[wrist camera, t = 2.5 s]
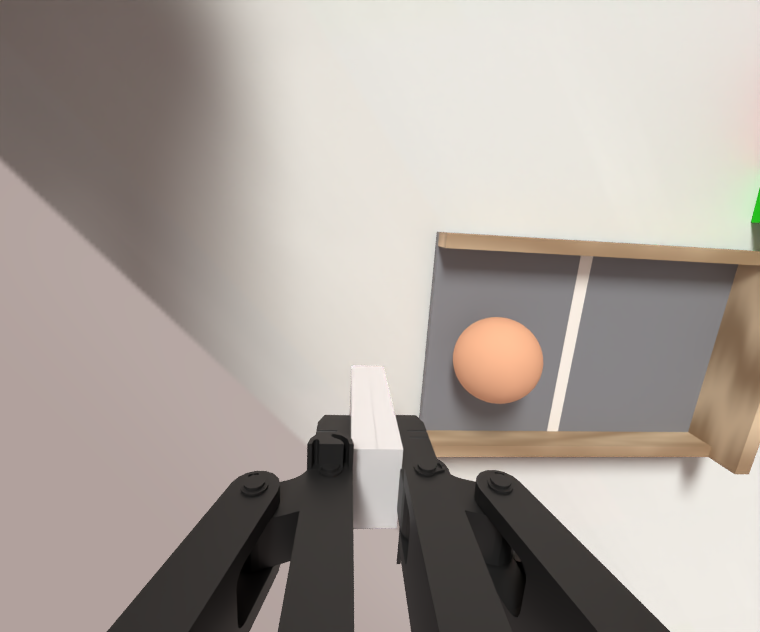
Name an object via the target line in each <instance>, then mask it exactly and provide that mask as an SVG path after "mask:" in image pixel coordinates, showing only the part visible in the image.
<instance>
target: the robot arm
mask: <svg viewBox="0 0 760 632" xmlns="http://www.w3.org/2000/svg"><path fill="white" fill-rule="evenodd" d="M397 519H398V520H399V526H400V530H399V542H398V543H399V544H398V554H397V564H400V563H401V564H402V571H403V577H404V584H405V591H406V598H407V605H408V612H409V619H410V626H411V632H670V631H669V630H668V629H667V628H666V627H665V626H664V625H663V624H662V623H661V622H660V621H659V620H658V619H657V618H656V617H655V616H654V615H653V614H652V613H651V612H650V611H649V610H648V609H647V608H646V607H645V606H644V605H643V604H642V603H641V602H640V601H639V600H638V599H637V598H636V597H635V596H634V595H633V594H632V593H631V592H630V591H629V590H628V589H627V588H626V587H625V586H624V585H623V584H622V583H621V582H620V581H619V580H618V579H617V578H616V577H615V576H614V575H613V574H612V573H611V572H610V571H609V570H608V569H607V568H606V567H605V566H604V565H603V564H602V563H601V562H600V561H599V560H598V559H597V558H596V557H595V556H594V555H593V554H592V553H591V552H590V551H589V550H588V549H587V548H586V547H585V546H584V545H583V544H582V543H581V542H580V541H579V540H578V539H577V538H576V537H575V536H574V535H573V534H572V533H571V532H570V531H569V530H568V529H567V528H566V527H565V526H564V525H563V524H562V523H561V522H560V521H559V520H558V519H557V518H556V517H555V516H554V515H553V514H552V513H551V512H550V511H549V510H548V509H547V508H546V507H545V506H544V505H543V504H542V503H541V502H540V501H539V500H538V499H537V498H536V497H535V496H534V495H533V494H531V493H530V492H529V491H528V490H527V489H526V488H525V487H524V486H523V485H522V484H521V483H520V482H519V481H518V480H517V479H516V478H514V477H513V476H511V475H509V474H507V473H504V472H501V471H496V470H486V471H484V472H481V473H480V474H479V475H478V476H477V478H476V482H474V481H469V480H465V479H461V478H458V477H455V476H453V475H451V474H450V472H449V470H448V468H447V467H446V465H445V464H444V463H443V462H441V461H440V460H438V459H437V457H436V455H435V452H434V449H433V447H432V444H431V441H430V438H429V436H428V433H427V430H426V428H425V425H424V422H423V421H421V420H420V419H419V418H418V417H417V416H416V415H395V412H394V407H393V403H392V399H391V394H390V390H389V386H388V381H387V377H386V373H385V368H384V366H364V365H352V368H351V392H350V415H324V416H323V417H322V419H321V420H320V421H319V422H318V425H317V432H316V435H315V436H314V437H312V438H311V439H310V440H309V442H308V446H307V471H306V472H305V473H303V474H302V475H300V476H298V477H296V478H294V479H291V480H287V481H283V482H279V478H278V477H276V475H274V474H273V473H269V472H267V471H254V472H250V473H246V474H244V475H242V476H240V477H238V478H237V479H236V480H235V481H233V482H232V483H231V484H230V485H229V487H228V488H227V489H226V490H225V492H224V493H223V494H222V495H221V496H220V497H219V499H218V500H217V501H216V502H215V503H214V505H213V506H212V507H211V508H210V509H209V511H208V512H207V513H206V514H205V515H204V516H203V518H202V519H201V520H200V521H199V523H198V524H197V525H196V526H195V527H194V528H193V530H192V531H191V532H190V533H189V535H188V536H187V537H186V538H185V539H184V540H183V542H182V543H181V544H180V545H179V546H178V548H177V549H176V550H175V551H174V552H173V553H172V555H171V556H170V557H169V558H168V560H167V561H166V562H165V563H164V564H163V566H162V567H161V568H160V569H159V570H158V572H157V573H156V574H155V575H154V576H153V577H152V579H151V580H150V581H149V582H148V583H147V585H146V586H145V587H144V588H143V589H142V590H141V592H140V593H139V594H138V595H137V596H136V598H135V599H134V600H133V601H132V602H131V604H130V605H129V606H128V607H127V608H126V610H125V611H124V612H123V613H122V614H121V616H120V617H119V618H118V619H117V620H116V622H115V623H114V624H113V625H112V626H111V628H110V629H109V630H108V631H107V632H249V631H250V629H251V627H252V625H253V623H254V621H255V619H256V617H257V615H258V613H259V611H260V609H261V606H262V604H263V602H264V600H265V598H266V596H267V594H268V592H269V589H270V588H271V586H272V583H273V581H274V579H275V577H276V575H277V573H278V571H279V567H280V564H282V563H285V562H288V561H290V567H289V573H288V578H287V584H286V589H285V595H284V600H283V606H282V612H281V617H280V623H279V628H278V632H354V574H353V573H354V572H353V571H354V566H353V565H354V564H353V563H354V562H353V529H366V528H367V529H368V528H369V529H371V528H372V529H373V528H397Z"/></svg>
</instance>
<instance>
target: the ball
mask: <svg viewBox="0 0 760 632" xmlns="http://www.w3.org/2000/svg"><path fill="white" fill-rule="evenodd" d="M453 366H454V370H455V373H456V376H457V378H458V380H459V382H460V383H461V385H462V386H463V387H464V388H465V389H466V390H467V391H468V392H469V393H470V394H472V395H473V396H474V397H476V398H478V399H480V400H483V401H485V402H489V403H495V404H505V403H511V402H514V401H517V400H519V399H521V398H523V397H525V396H526V395H527V394H529V393H530V392H531V391H532V390H533V389H534V388H535V386H536V385H537V383H538V381H539V379H540V377H541V374H542V370H543V354H542V350H541V347H540V345H539V342H538V340H537V339H536V337H535V336H534V335H533V333H532V332H531V331H530V330H529V329H527V328H526V327H525V326H524V325H522V324H520V323H519V322H516V321H514V320H512V319H508V318H503V317H490V318H485V319H481V320H479V321H477V322H475V323H473V324H471V325H470V326H469V327H467V328H466V329H465V330H464V331H463V332H462V334H461V335H460V336H459V338H458V340H457V342H456V344H455V347H454V352H453Z"/></svg>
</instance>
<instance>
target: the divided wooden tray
mask: <svg viewBox="0 0 760 632" xmlns="http://www.w3.org/2000/svg"><path fill="white" fill-rule="evenodd" d="M438 246H440V247H444V248H454V249H472V250H490V251H508V252H526V253H544V254H562V255H580V256H598V257H616V258H634V259H652V260H670V261H688V262H706V263H724V264H738V268H737V271H736V274H735V278H734V281H733V284H732V288H731V291H730V294H729V298H728V301H727V304H726V308H725V311H724V314H723V317H722V321H721V324H720V327H719V331H718V334H717V337H716V341H715V344H714V347H713V351H712V354H711V357H710V361H709V364H708V367H707V371H706V374H705V377H704V381H703V384H702V387H701V391H700V394H699V397H698V401H697V404H696V407H695V411H694V414H693V417H692V421H691V424H690V427H689V431H688V432H601V431H452V430H427V433H428V436H429V438H430V441H431V444H432V447H433V449H434V452H435V455H436V457H709V458H711V459H712V460H714V461H715V462H717V463H718V464H720V465H722V466H723V467H725V468H726V469H728V470H729V471H731V472H732V473H734V474H749V472H750V469H751V467H752V464H753V461H754V458H755V455H756V453H757V450H758V447H759V444H760V251H745V250H728V249H712V248H695V247H678V246H661V245H645V244H628V243H611V242H594V241H578V240H561V239H544V238H527V237H511V236H494V235H477V234H460V233H444V232H439V241H438Z"/></svg>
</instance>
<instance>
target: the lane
mask: <svg viewBox="0 0 760 632" xmlns="http://www.w3.org/2000/svg"><path fill="white" fill-rule="evenodd" d="M444 233H446V232H444ZM460 234H463V233H460ZM477 235H479V234H477ZM494 236H496V235H494ZM511 237H513V236H511ZM527 238H530V237H527ZM544 239H546V238H544ZM561 240H563V239H561ZM438 241H439V232H437V237H436V247H435V258H434V268H433V279H432V289H431V300H430V310H429V321H428V331H427V342H426V352H425V363H424V373H423V384H422V394H421V405H420V415H419V419H420V420H421V421H423V422H424V425H425V428H426V430H452V431H601V432H688V431H689V427H690V424H691V421H692V417H693V414H694V411H695V407H696V404H697V401H698V397H699V394H700V391H701V387H702V384H703V381H704V377H705V374H706V371H707V367H708V364H709V361H710V357H711V354H712V351H713V347H714V344H715V341H716V337H717V334H718V331H719V327H720V324H721V321H722V317H723V314H724V311H725V308H726V304H727V301H728V298H729V294H730V291H731V288H732V284H733V281H734V278H735V274H736V271H737V268H738V264H724V263H706V262H688V261H670V260H652V259H634V258H616V257H598V256H580V255H562V254H544V253H526V252H508V251H490V250H472V249H454V248H444V247H440V246H438ZM578 241H580V240H578ZM594 242H597V241H594ZM611 243H613V242H611ZM628 244H630V243H628ZM645 245H647V244H645ZM661 246H664V245H661ZM678 247H680V246H678ZM695 248H697V247H695ZM712 249H714V248H712ZM728 250H731V249H728ZM745 251H747V250H745ZM490 317H503V318H508V319H512V320H514V321H516V322H519V323H520V324H522V325H524V326H525V327H526V328H527V329H529V330H530V331H531V332H532V333H533V335H534V336H535V337H536V339H537V340H538V342H539V345H540V347H541V350H542V354H543V370H542V374H541V377H540V379H539V381H538V383H537V385H536V386H535V388H534V389H533V390H532V391H531V392H530V393H529V394H527V395H526V396H525V397H523V398H521V399H519V400H517V401H514V402H511V403H505V404H495V403H489V402H485V401H483V400H480V399H478V398H476V397H474V396H473V395H472V394H470V393H469V392H468V391H467V390H466V389H465V388H464V387H463V386H462V385H461V383H460V382H459V380H458V378H457V376H456V373H455V370H454V366H453V352H454V347H455V344H456V342H457V340H458V338H459V336H460V335H461V334H462V332H463V331H464V330H465V329H466V328H467V327H469V326H470V325H471V324H473V323H475V322H477V321H479V320H481V319H485V318H490Z"/></svg>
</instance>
